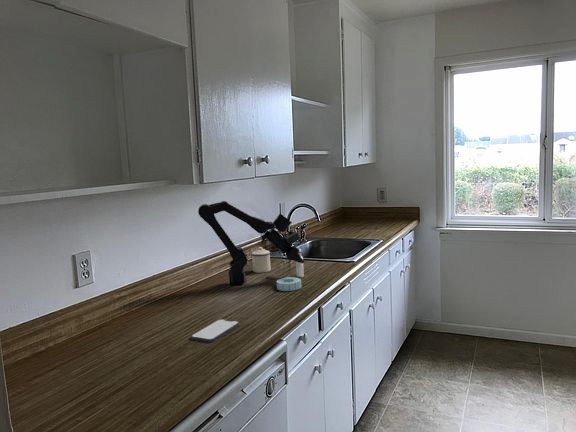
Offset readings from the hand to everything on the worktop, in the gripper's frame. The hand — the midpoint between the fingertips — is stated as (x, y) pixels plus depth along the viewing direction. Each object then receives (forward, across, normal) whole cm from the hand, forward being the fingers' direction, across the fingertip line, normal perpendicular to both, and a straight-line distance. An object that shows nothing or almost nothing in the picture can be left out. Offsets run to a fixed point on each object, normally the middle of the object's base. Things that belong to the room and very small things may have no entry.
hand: (302, 261), depth 216 cm
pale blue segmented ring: (-2, -16, +12) cm, 20 cm away
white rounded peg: (+4, 0, +6) cm, 7 cm away
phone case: (-25, -57, +35) cm, 72 cm away
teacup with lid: (-8, +20, +17) cm, 27 cm away
